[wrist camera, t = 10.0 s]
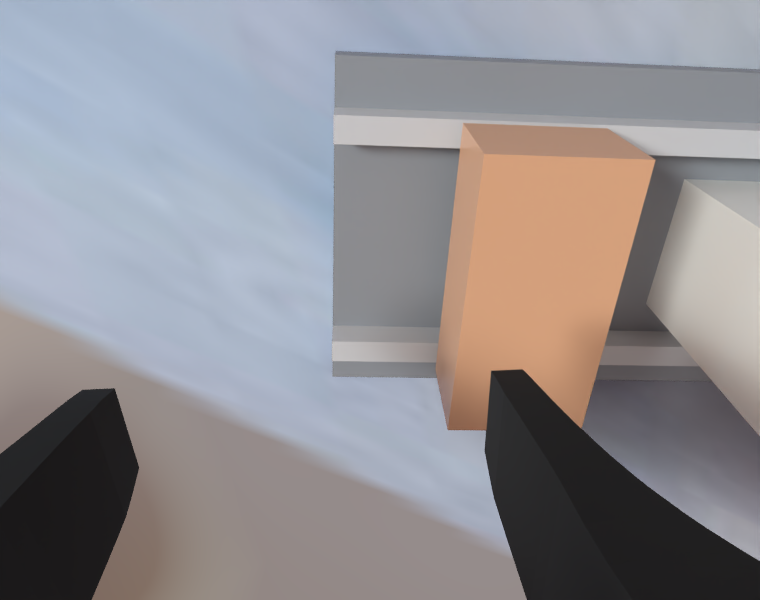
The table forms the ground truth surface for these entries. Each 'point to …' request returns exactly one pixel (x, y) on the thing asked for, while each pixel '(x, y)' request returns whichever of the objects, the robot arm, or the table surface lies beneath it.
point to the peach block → (535, 261)
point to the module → (715, 286)
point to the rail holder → (439, 175)
